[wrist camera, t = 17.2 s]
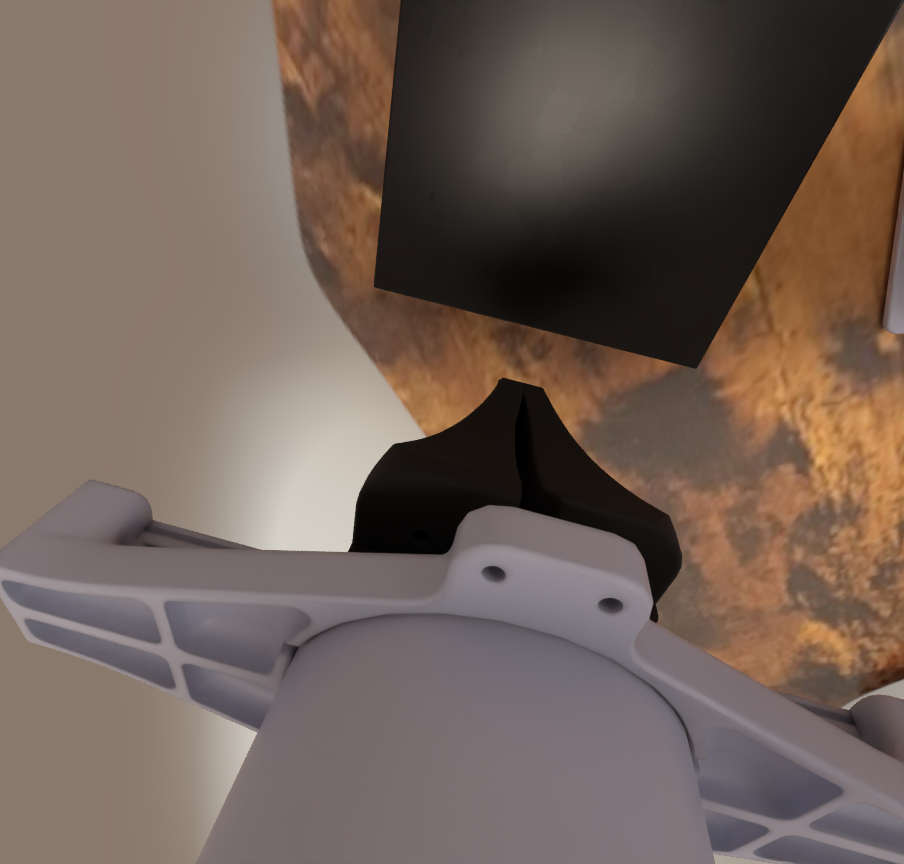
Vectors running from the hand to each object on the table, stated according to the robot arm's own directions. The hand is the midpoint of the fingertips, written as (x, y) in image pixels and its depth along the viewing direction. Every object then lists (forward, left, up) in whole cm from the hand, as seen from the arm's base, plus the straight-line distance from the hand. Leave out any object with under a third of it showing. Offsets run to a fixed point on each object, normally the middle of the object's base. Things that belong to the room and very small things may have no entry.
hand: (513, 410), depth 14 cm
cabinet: (-4, -7, -9) cm, 12 cm away
